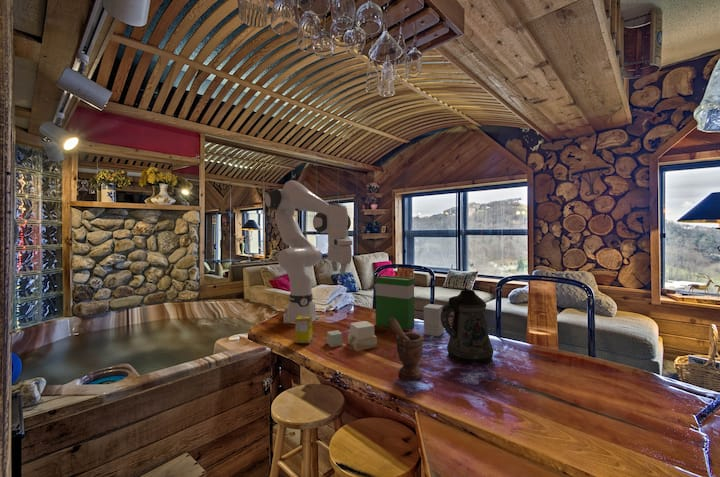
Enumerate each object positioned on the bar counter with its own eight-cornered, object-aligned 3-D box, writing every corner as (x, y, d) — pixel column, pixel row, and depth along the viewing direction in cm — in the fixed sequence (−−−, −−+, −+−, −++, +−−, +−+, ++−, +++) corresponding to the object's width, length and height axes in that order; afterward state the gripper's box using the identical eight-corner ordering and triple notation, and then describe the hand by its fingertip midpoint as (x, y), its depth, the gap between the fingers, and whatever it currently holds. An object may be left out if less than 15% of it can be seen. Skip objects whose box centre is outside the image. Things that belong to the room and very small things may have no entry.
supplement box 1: (312, 339, 139) (312, 315, 139) (309, 344, 133) (308, 319, 133) (299, 339, 140) (299, 314, 139) (295, 344, 134) (294, 318, 133)
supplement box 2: (444, 332, 148) (444, 305, 147) (438, 336, 141) (438, 308, 141) (428, 329, 152) (428, 303, 151) (423, 334, 145) (423, 306, 145)
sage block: (327, 343, 135) (327, 331, 135) (338, 341, 137) (338, 330, 137) (331, 347, 130) (330, 335, 130) (342, 345, 132) (342, 333, 132)
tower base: (348, 343, 135) (348, 333, 134) (367, 340, 138) (367, 330, 138) (356, 351, 126) (356, 340, 126) (376, 347, 130) (376, 336, 130)
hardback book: (375, 324, 160) (375, 277, 159) (382, 320, 166) (382, 275, 166) (408, 330, 151) (408, 280, 150) (414, 326, 157) (414, 277, 156)
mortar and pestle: (405, 387, 97) (405, 323, 96) (384, 378, 103) (384, 317, 103) (428, 375, 104) (428, 315, 104) (407, 367, 111) (407, 310, 110)
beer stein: (500, 356, 120) (500, 290, 119) (479, 373, 106) (479, 299, 105) (458, 345, 131) (458, 285, 131) (434, 359, 117) (434, 292, 116)
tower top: (350, 333, 134) (350, 323, 134) (366, 331, 137) (366, 320, 137) (357, 339, 127) (357, 328, 127) (374, 336, 131) (374, 325, 130)
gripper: (323, 240, 146) (324, 270, 146) (339, 241, 127) (340, 275, 127) (336, 239, 148) (337, 269, 149) (354, 241, 130) (354, 274, 130)
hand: (338, 272), depth 138 cm, fingers open, 8 cm apart
